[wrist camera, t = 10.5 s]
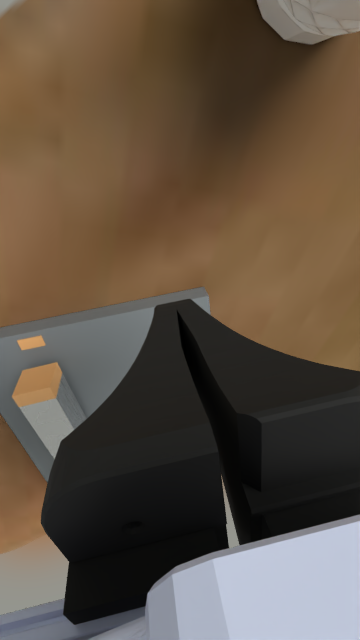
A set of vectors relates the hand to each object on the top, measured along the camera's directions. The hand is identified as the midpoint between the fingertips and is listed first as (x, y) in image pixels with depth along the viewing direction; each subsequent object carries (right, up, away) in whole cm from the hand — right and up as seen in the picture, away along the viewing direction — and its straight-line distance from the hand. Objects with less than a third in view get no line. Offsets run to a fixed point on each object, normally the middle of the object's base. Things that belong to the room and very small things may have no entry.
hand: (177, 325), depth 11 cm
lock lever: (-9, -8, +13) cm, 18 cm away
